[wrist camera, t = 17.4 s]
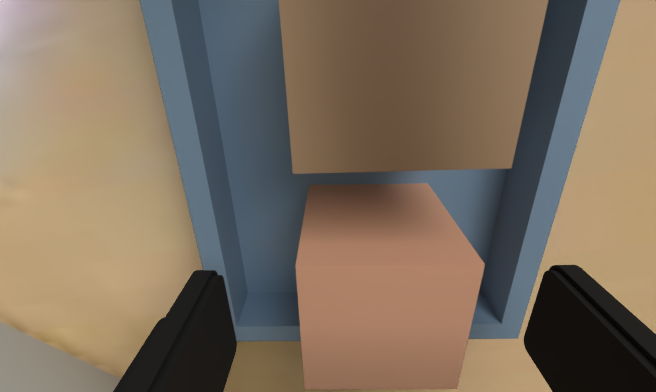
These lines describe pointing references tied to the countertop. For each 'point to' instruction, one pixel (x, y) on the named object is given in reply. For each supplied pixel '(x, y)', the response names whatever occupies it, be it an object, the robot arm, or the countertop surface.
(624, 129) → the countertop surface
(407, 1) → the walnut block
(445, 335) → the terracotta block
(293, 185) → the tray
